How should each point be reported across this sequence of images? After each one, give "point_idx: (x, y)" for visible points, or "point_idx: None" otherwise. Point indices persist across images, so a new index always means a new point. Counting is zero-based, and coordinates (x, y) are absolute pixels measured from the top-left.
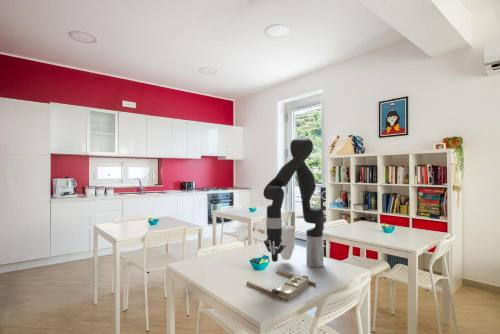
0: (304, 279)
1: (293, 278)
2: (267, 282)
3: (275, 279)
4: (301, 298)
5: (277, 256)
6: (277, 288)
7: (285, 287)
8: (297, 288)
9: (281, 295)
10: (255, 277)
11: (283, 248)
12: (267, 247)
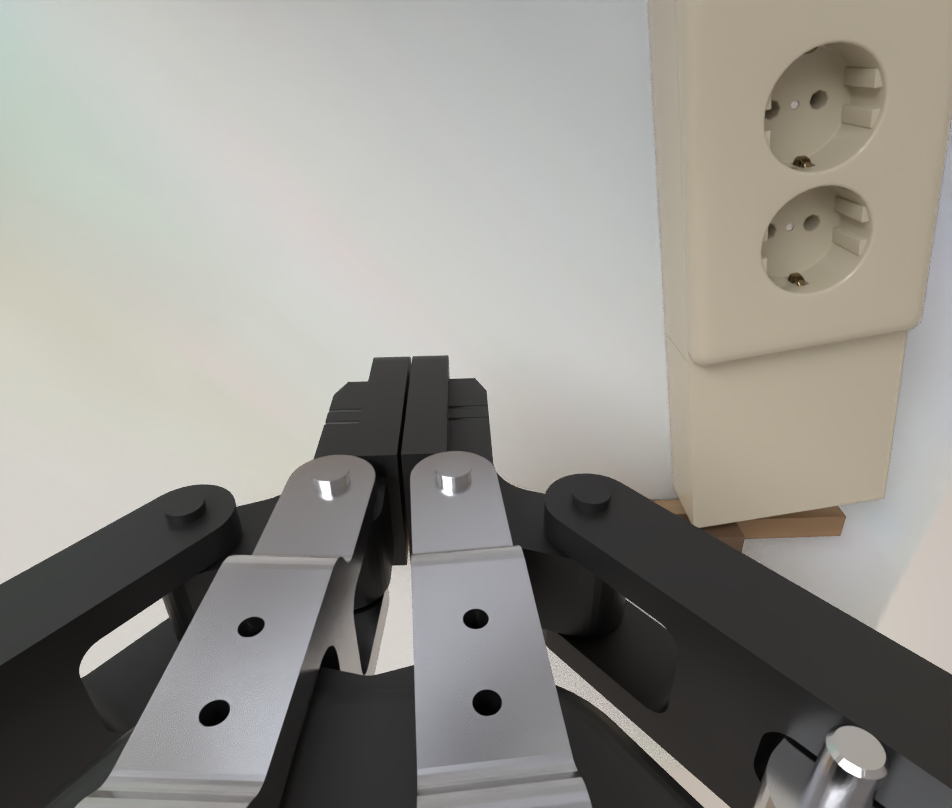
0: (939, 45)
1: (748, 163)
2: (364, 323)
3: (354, 158)
4: (941, 351)
5: (489, 442)
6: (695, 503)
7: (760, 424)
8: (904, 333)
9: (775, 520)
10: (125, 325)
11: (860, 656)
12: (119, 724)
